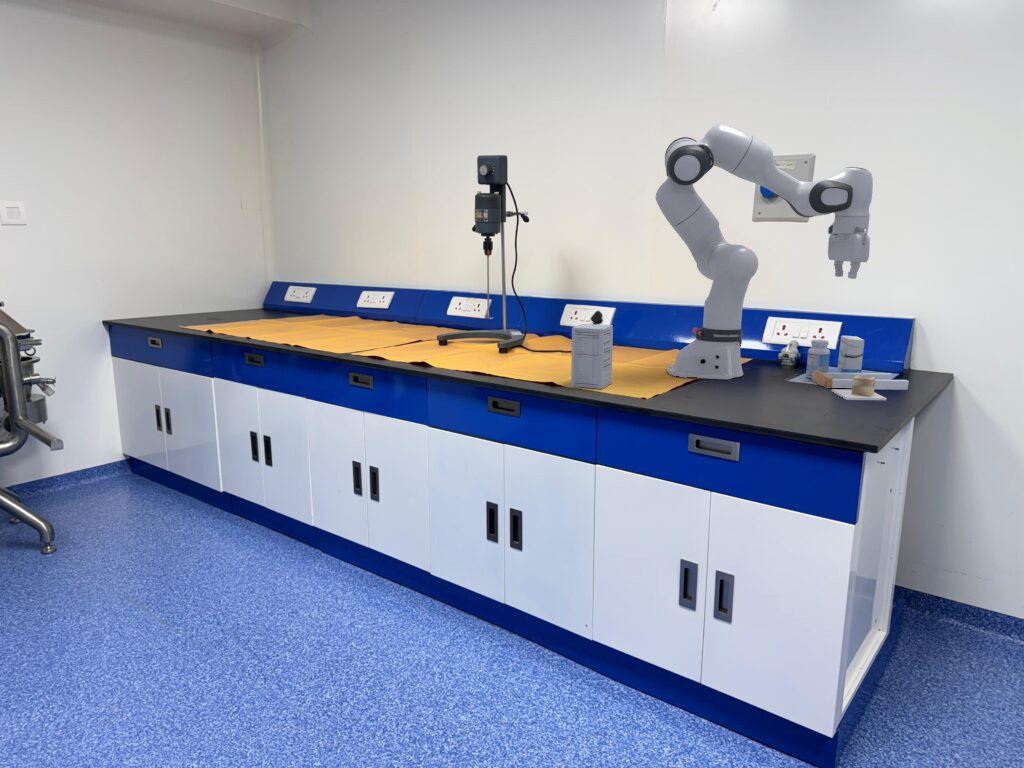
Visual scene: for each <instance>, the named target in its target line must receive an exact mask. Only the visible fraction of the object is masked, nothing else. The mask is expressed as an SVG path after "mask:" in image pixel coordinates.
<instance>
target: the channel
mask: <svg viewBox="0 0 1024 768" xmlns="http://www.w3.org/2000/svg"><path fill="white" fill-rule="evenodd" d="M857 375H860V376H869V377H876V380H875V388H874V390H885V391H887V390H889V391H890V390H893V391H894V390H895V391H901V390H902V391H908V389H909V384H910V383H909V382H910V381H909V380H907V379H893V374H892V373H886V372H885V373H884V372H861V373H837V372H828V373H826V372H821V371H819V370H813V374H812V379H811V381H812V382H813V381H814V383H815V382H816V383H815V384H817V383H818V384H817V385H819V384H820V385H819V386H821V385H822V386H824V387H825V388H824V387H823V388H824V389H826V388H852V385H853V378H854V377H855V376H857ZM822 386H821V387H822Z"/></svg>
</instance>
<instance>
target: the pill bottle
mask: <svg viewBox="0 0 1024 768" xmlns="http://www.w3.org/2000/svg"><path fill="white" fill-rule="evenodd" d="M810 343H811V344H810V345H811V347H810V348H809V349H808V350H807V359H806V371H805V372H806V373H805V375H806V376H805V377H807V378H808V379H810V378H812V374H813V370H819V371H821V372H826V373H829V370H830V369H829V368H830V367H829V366H830V358H831V351H830V349H829V348H828V346H829V340H826V339H812V340H811V342H810Z"/></svg>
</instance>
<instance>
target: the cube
mask: <svg viewBox="0 0 1024 768" xmlns="http://www.w3.org/2000/svg"><path fill="white" fill-rule="evenodd" d="M875 380H876V377H869V376H860V375H857V376H855V377H854V378H853V385H852V389H851V390H852V395H860V396H867V397H871V396H872V395H873V394H874V392H875V389H874V388H875Z"/></svg>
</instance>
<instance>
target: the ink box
mask: <svg viewBox="0 0 1024 768" xmlns="http://www.w3.org/2000/svg"><path fill="white" fill-rule="evenodd" d="M864 348H865V339H862V338H861V337H859V336H856V335H855V336H854V335H853V336H852V335H841V336H840V345H839V354H838V360H837V370H836V373H862V366H863V357H864Z"/></svg>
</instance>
